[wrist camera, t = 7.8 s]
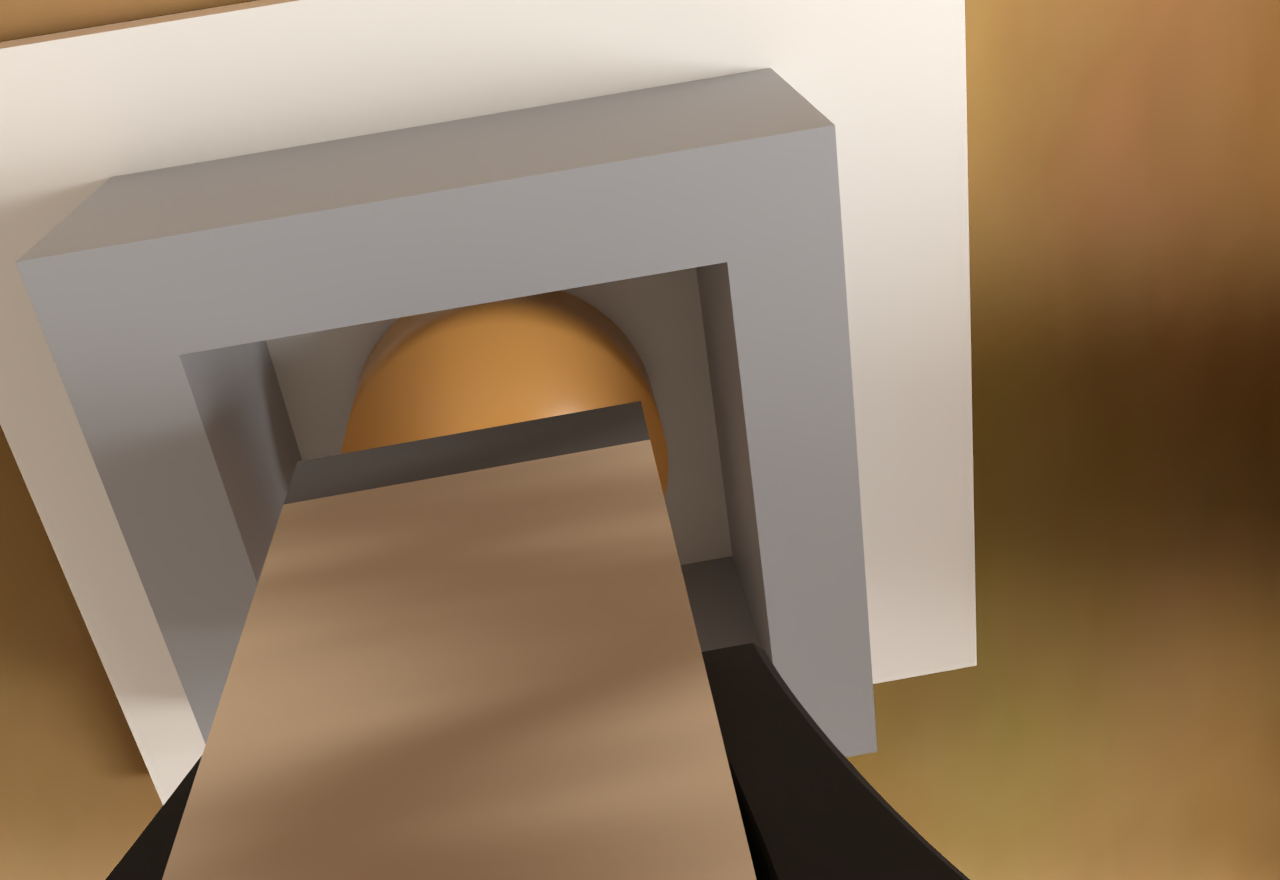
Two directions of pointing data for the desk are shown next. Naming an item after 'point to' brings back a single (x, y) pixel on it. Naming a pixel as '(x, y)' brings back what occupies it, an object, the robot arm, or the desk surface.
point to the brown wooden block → (470, 675)
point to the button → (497, 372)
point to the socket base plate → (499, 298)
